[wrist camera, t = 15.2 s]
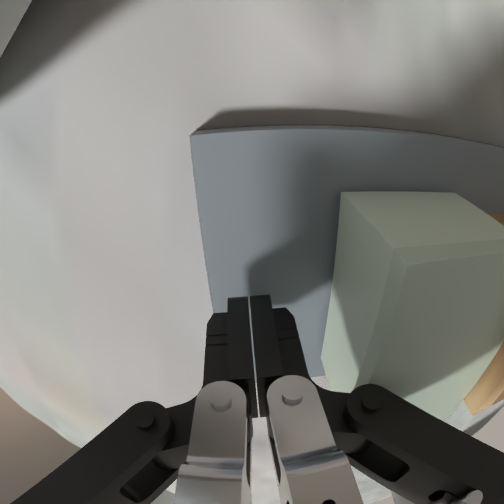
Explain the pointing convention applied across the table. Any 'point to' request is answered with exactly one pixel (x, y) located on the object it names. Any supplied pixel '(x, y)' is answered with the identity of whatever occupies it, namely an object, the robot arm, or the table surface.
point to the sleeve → (488, 375)
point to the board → (313, 205)
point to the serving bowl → (10, 19)
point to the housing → (414, 297)
